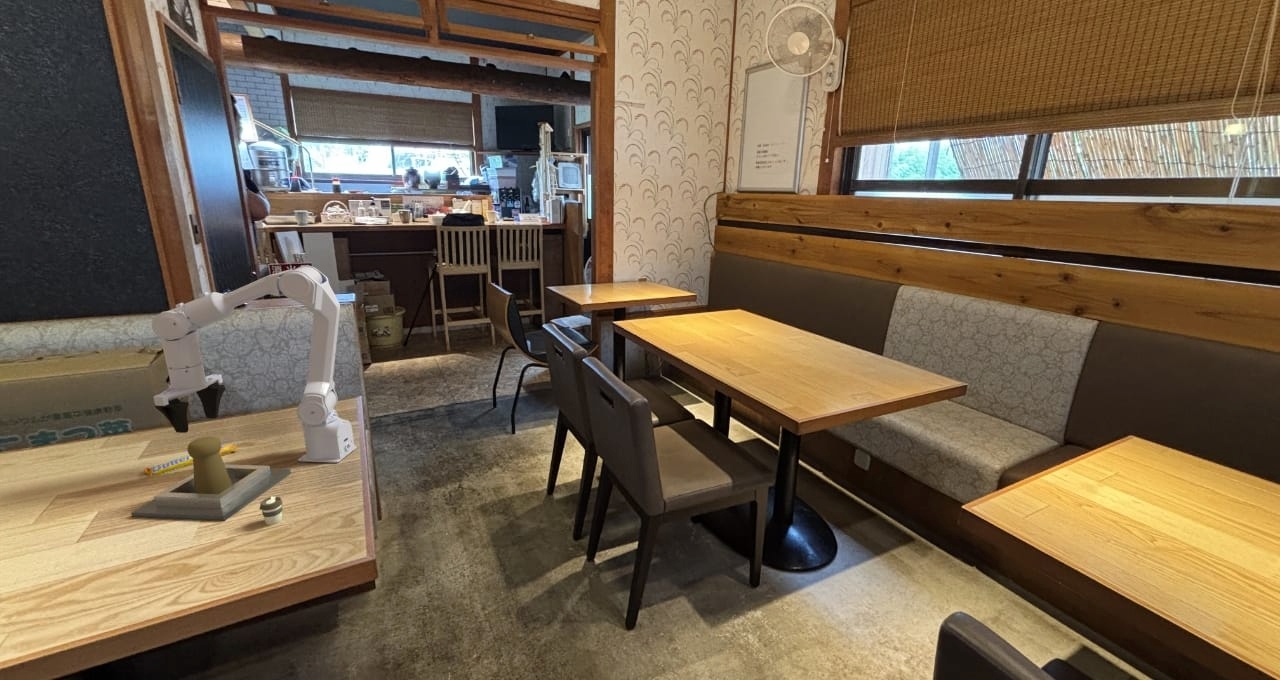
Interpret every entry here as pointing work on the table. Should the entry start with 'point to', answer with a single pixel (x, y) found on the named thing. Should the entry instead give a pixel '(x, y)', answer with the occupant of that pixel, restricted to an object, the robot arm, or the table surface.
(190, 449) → the brown rounded piece
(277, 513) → the coffee cup
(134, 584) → the table surface
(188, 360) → the robot arm
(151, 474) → the candy bar
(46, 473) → the table surface
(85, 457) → the table surface
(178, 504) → the socket board
